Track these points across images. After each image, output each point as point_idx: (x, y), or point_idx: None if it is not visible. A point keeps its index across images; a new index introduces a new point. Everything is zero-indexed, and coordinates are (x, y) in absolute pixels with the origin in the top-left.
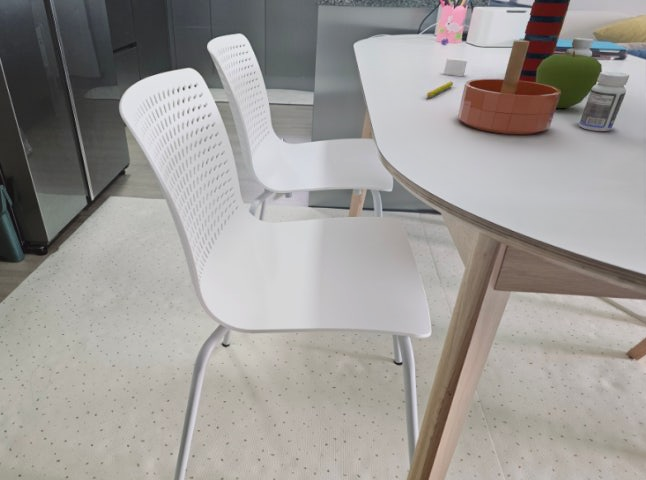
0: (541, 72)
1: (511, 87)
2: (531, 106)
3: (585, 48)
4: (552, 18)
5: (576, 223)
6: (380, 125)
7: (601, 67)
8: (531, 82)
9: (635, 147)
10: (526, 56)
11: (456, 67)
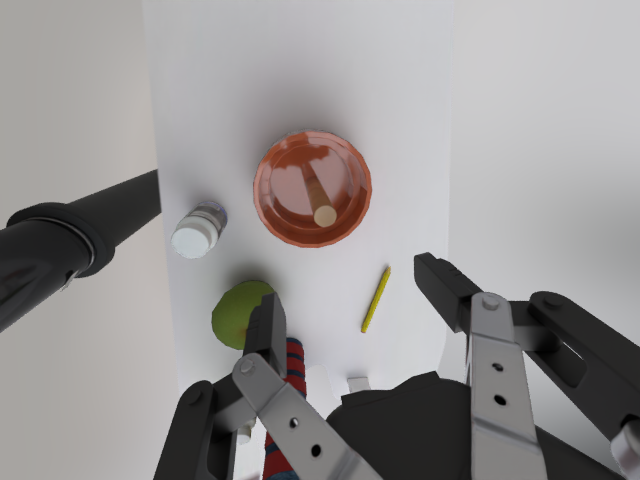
0: None
1: (315, 187)
2: (286, 136)
3: None
4: None
5: None
6: (447, 110)
7: (212, 326)
8: (290, 239)
9: (160, 143)
10: (297, 372)
11: (358, 386)
